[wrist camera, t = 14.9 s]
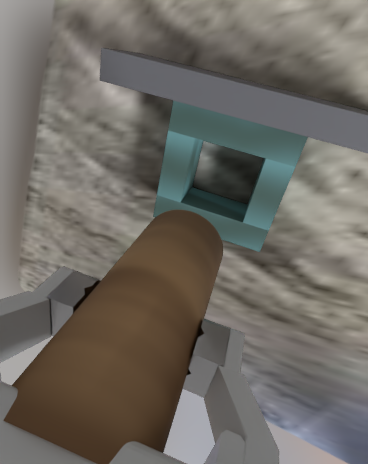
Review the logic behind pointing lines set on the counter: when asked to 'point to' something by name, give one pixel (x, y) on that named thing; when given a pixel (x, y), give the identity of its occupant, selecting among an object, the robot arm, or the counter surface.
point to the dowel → (125, 346)
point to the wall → (238, 98)
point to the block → (238, 138)
